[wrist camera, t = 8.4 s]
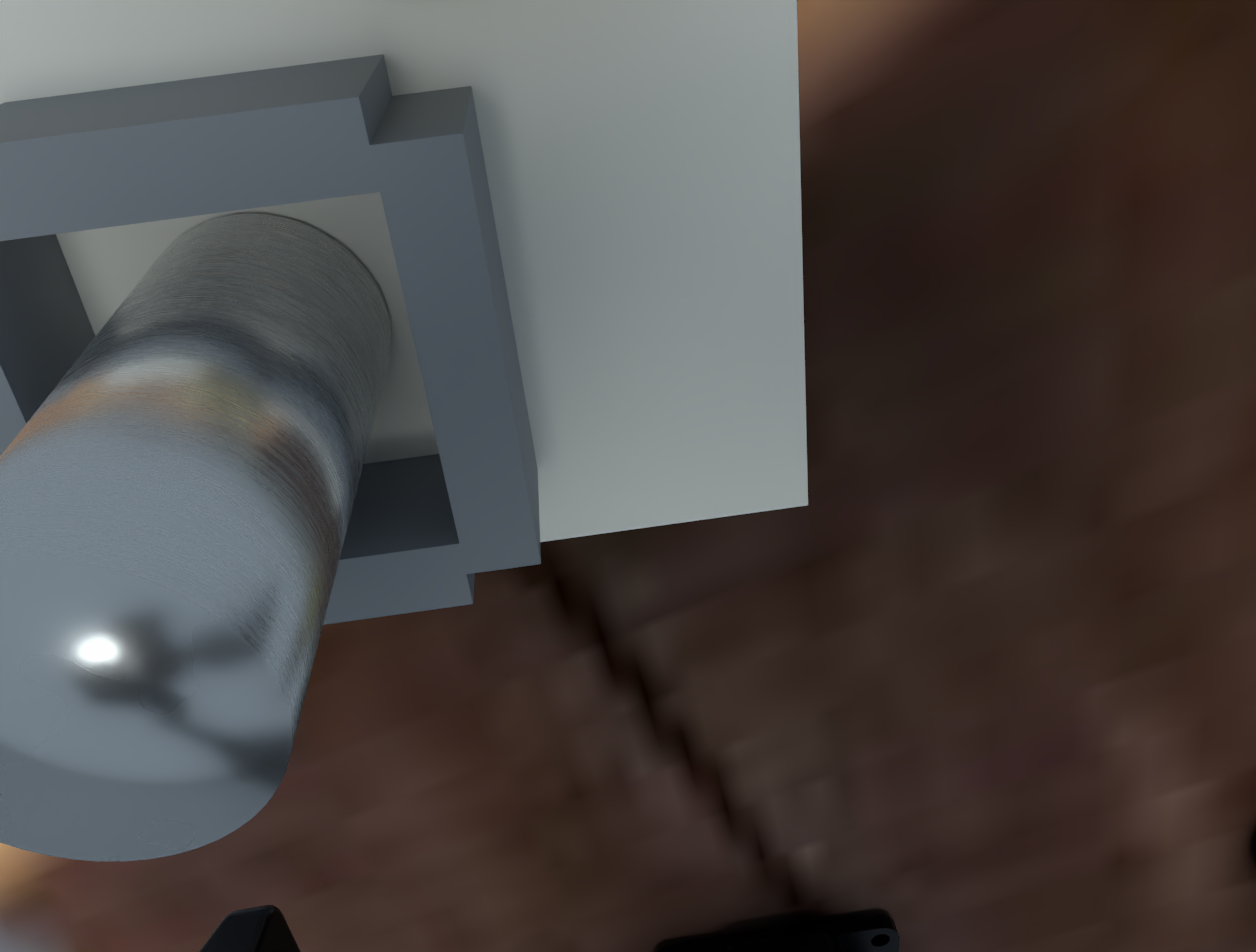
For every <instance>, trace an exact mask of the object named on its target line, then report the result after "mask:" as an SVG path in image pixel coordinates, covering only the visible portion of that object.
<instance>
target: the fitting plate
mask: <svg viewBox="0 0 1256 952" xmlns="http://www.w3.org/2000/svg"><path fill="white" fill-rule="evenodd" d="M246 213H252V214H268V215H273V216H279V217H284V218H287V219H291V220H294V221H298V222H301V223H303V224H305V225H308V226H310V227H312V228H315V229H317V230H319V231H320V232H322V233H324V234H326V235H327V236H329V237H331V238H332V239H334V240H335V241H336V242H338V243H339V244H340V245H342V246H343V247H345V248H346V249H347V250H348V251H349V252H350V253H351V254H352V255H353V256H354V257H355V258H357V259H358V261H359V262H360V263H361V264H362V265H363V266H364V268H365V269H366V270H367V271H368V272H369V274H370V275H371V277H372V278H373V280H374V282H375V283H376V285H377V286H378V288H379V290H380V292H381V294H382V297H383V299H384V301H385V304H386V307H387V310H388V313H389V318H390V323H391V330H392V347H391V356H390V360H389V364H388V368H387V372H386V376H385V380H384V384H383V388H382V392H381V396H380V400H379V404H378V408H377V412H376V416H375V420H374V424H373V428H372V432H371V436H370V440H369V444H368V448H367V452H366V456H365V460H364V464H363V468H362V472H361V476H360V480H359V484H358V487H357V491H356V495H355V499H354V503H353V507H352V511H351V515H350V519H349V523H348V527H347V531H346V535H345V539H344V543H343V547H342V551H341V555H340V559H339V563H338V567H337V571H336V575H335V579H334V583H333V587H332V591H331V595H330V599H329V603H328V607H327V611H326V615H325V619H324V623H323V625H325V624H332V623H339V622H347V621H354V620H361V619H368V618H375V617H383V616H390V615H397V614H404V613H411V612H419V611H426V610H433V609H440V608H447V607H455V606H462V605H469V604H473V596H474V578H475V573H479V572H486V571H494V570H501V569H508V568H515V567H523V566H530V565H537V564H541V551H540V542H545V541H552V540H559V539H567V538H574V537H581V536H589V535H596V534H603V533H610V532H618V531H625V530H632V529H639V528H647V527H654V526H661V525H668V524H676V523H683V522H690V521H697V520H705V519H712V518H719V517H726V516H734V515H741V514H748V513H755V512H763V511H770V510H777V509H784V508H792V507H799V506H806V505H808V478H807V434H806V389H805V345H804V301H803V257H802V213H801V169H800V125H799V80H798V36H797V0H0V456H1V455H2V454H3V452H4V451H5V450H6V449H7V447H8V446H9V445H10V444H11V442H12V441H13V440H14V439H15V437H16V436H17V435H18V433H19V432H20V431H21V430H22V428H23V427H24V426H25V425H26V423H27V422H28V421H29V420H30V418H31V417H32V416H33V415H34V413H35V412H36V411H37V410H38V408H39V407H40V406H41V404H42V403H43V402H44V401H45V399H46V398H47V397H48V396H49V394H50V393H51V392H52V391H53V389H54V388H55V387H56V386H57V384H58V383H59V382H60V381H61V379H62V378H63V377H64V375H65V374H66V373H67V372H68V370H69V369H70V368H71V367H72V365H73V364H74V363H75V362H76V360H77V359H78V358H79V357H80V355H81V354H82V353H83V352H84V350H85V349H86V348H87V347H88V345H89V344H90V343H91V341H92V340H93V339H94V338H95V336H96V335H97V334H98V333H99V331H100V330H101V329H102V328H103V326H104V325H105V324H106V323H107V321H108V320H109V319H110V318H111V316H112V315H113V314H114V312H115V311H116V310H117V309H118V307H119V306H120V305H121V304H122V302H123V301H124V300H125V299H126V297H127V296H128V295H129V294H130V292H131V291H132V290H133V289H134V287H135V286H136V285H137V284H138V282H139V281H140V280H141V278H142V277H143V276H144V275H145V273H146V272H147V271H148V270H149V268H150V267H151V266H152V265H153V263H154V262H155V261H156V260H157V258H158V257H159V256H160V255H161V253H162V252H163V251H164V250H165V249H166V248H167V247H168V246H169V245H170V244H171V243H172V242H173V241H174V240H175V239H176V238H177V237H179V236H180V235H181V234H183V233H184V232H185V231H187V230H189V229H191V228H193V227H194V226H196V225H198V224H200V223H203V222H206V221H208V220H211V219H214V218H218V217H222V216H227V215H233V214H246Z"/></svg>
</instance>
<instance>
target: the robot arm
mask: <svg viewBox="0 0 1256 952" xmlns="http://www.w3.org/2000/svg"><path fill="white" fill-rule="evenodd" d="M199 952H300V950H299V948H298V946H297V944H296V941H295V939H294V937H293V935H292V933H291V931H290V929H289V927H288V925H287V922H286V920H285V918H284V916H283V914H282V913H281V911H280V910H279V909H278V908H277V907H275V906H273V905H265V906H259V907H253V908H248V909H242V910H237V911H234V912H232V913H230V914H229V915H227V916H226V917H225V918H224V919H223V920H222V921H221V922H220V924H219V925H218V926H217V928H216V929H215V930H214V932H213V933H212V934H211V936H210V937H209V938H208V940H207V941H206V942H205V944H204V945H203V946H202V948H201V949H200V950H199ZM657 952H899V935H898V932H897V929H896V926H895V924H894V921H893V919H891V918H890V917H888V916H885V915H875V916H868V917H861V918H854V919H847V920H841V921H834V922H827V923H820V924H813V925H806V926H800V927H793V928H786V929H779V930H772V931H766V932H759V933H752V934H745V935H738V936H731V937H725V938H718V939H711V940H704V941H697V942H691V943H684V944H677V945H670V946H667V947H663V948H661V949H660V950H658V951H657Z"/></svg>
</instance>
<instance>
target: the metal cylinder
mask: <svg viewBox="0 0 1256 952" xmlns="http://www.w3.org/2000/svg"><path fill="white" fill-rule="evenodd" d="M391 347H392V330H391V323H390V318H389V313H388V310H387V307H386V304H385V301H384V299H383V297H382V294H381V292H380V290H379V288H378V286H377V285H376V283H375V282H374V280H373V278H372V277H371V275H370V274H369V272H368V271H367V270H366V269H365V268H364V266H363V265H362V264H361V263H360V262H359V261H358V259H357V258H355V257H354V256H353V255H352V254H351V253H350V252H349V251H348V250H347V249H346V248H345V247H343V246H342V245H340V244H339V243H338V242H336V241H335V240H334V239H332V238H331V237H329V236H327V235H326V234H324V233H322V232H320V231H319V230H317V229H315V228H312V227H310V226H308V225H305V224H303V223H301V222H298V221H294V220H291V219H287V218H284V217H279V216H273V215H268V214H252V213H246V214H233V215H227V216H222V217H218V218H214V219H211V220H208V221H206V222H203V223H200V224H198V225H196V226H194V227H193V228H191V229H189V230H187V231H185V232H184V233H183V234H181V235H180V236H179V237H177V238H176V239H175V240H174V241H173V242H172V243H171V244H170V245H169V246H168V247H167V248H166V249H165V250H164V251H163V252H162V253H161V255H160V256H159V257H158V258H157V260H156V261H155V262H154V263H153V265H152V266H151V267H150V268H149V270H148V271H147V272H146V273H145V275H144V276H143V277H142V278H141V280H140V281H139V282H138V284H137V285H136V286H135V287H134V289H133V290H132V291H131V292H130V294H129V295H128V296H127V297H126V299H125V300H124V301H123V302H122V304H121V305H120V306H119V307H118V309H117V310H116V311H115V312H114V314H113V315H112V316H111V318H110V319H109V320H108V321H107V323H106V324H105V325H104V326H103V328H102V329H101V330H100V331H99V333H98V334H97V335H96V336H95V338H94V339H93V340H92V341H91V343H90V344H89V345H88V347H87V348H86V349H85V350H84V352H83V353H82V354H81V355H80V357H79V358H78V359H77V360H76V362H75V363H74V364H73V365H72V367H71V368H70V369H69V370H68V372H67V373H66V374H65V375H64V377H63V378H62V379H61V381H60V382H59V383H58V384H57V386H56V387H55V388H54V389H53V391H52V392H51V393H50V394H49V396H48V397H47V398H46V399H45V401H44V402H43V403H42V404H41V406H40V407H39V408H38V410H37V411H36V412H35V413H34V415H33V416H32V417H31V418H30V420H29V421H28V422H27V423H26V425H25V426H24V427H23V428H22V430H21V431H20V432H19V433H18V435H17V436H16V437H15V439H14V440H13V441H12V442H11V444H10V445H9V446H8V447H7V449H6V450H5V451H4V452H3V454H2V455H1V456H0V842H1V843H4V844H7V845H10V846H13V847H16V848H20V849H23V850H27V851H32V852H36V853H40V854H44V855H49V856H55V857H62V858H69V859H75V860H89V861H134V860H144V859H153V858H159V857H164V856H170V855H175V854H179V853H182V852H186V851H189V850H192V849H196V848H199V847H201V846H204V845H206V844H209V843H211V842H214V841H216V840H218V839H220V838H222V837H224V836H226V835H228V834H229V833H231V832H233V831H235V830H237V829H238V828H239V827H241V826H242V825H243V824H245V823H246V822H247V821H249V820H250V819H252V818H253V817H254V816H255V815H256V814H257V813H258V812H259V811H260V810H261V809H262V808H263V807H264V806H265V805H266V804H267V803H268V801H269V800H270V799H271V797H272V796H273V794H274V793H275V792H276V790H277V789H278V787H279V785H280V783H281V781H282V779H283V777H284V774H285V772H286V769H287V765H288V761H289V757H290V754H291V750H292V746H293V742H294V738H295V734H296V730H297V726H298V722H299V718H300V714H301V710H302V706H303V702H304V698H305V694H306V690H307V686H308V682H309V678H310V674H311V670H312V666H313V662H314V658H315V654H316V650H317V646H318V642H319V638H320V634H321V631H322V627H323V623H324V619H325V615H326V611H327V607H328V603H329V599H330V595H331V591H332V587H333V583H334V579H335V575H336V571H337V567H338V563H339V559H340V555H341V551H342V547H343V543H344V539H345V535H346V531H347V527H348V523H349V519H350V515H351V511H352V507H353V503H354V499H355V495H356V491H357V487H358V484H359V480H360V476H361V472H362V468H363V464H364V460H365V456H366V452H367V448H368V444H369V440H370V436H371V432H372V428H373V424H374V420H375V416H376V412H377V408H378V404H379V400H380V396H381V392H382V388H383V384H384V380H385V376H386V372H387V368H388V364H389V360H390V356H391Z"/></svg>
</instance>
